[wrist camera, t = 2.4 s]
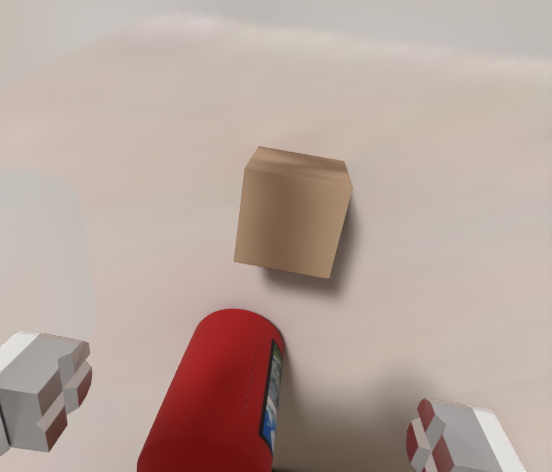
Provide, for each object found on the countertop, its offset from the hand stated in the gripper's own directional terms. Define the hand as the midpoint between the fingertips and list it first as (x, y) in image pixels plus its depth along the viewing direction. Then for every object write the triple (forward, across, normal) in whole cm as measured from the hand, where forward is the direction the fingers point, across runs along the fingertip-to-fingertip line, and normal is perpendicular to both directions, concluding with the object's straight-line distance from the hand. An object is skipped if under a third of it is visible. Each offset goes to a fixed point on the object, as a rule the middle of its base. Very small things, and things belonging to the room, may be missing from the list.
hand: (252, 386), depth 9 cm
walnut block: (+15, -1, 0) cm, 15 cm away
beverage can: (+15, +2, +12) cm, 19 cm away
